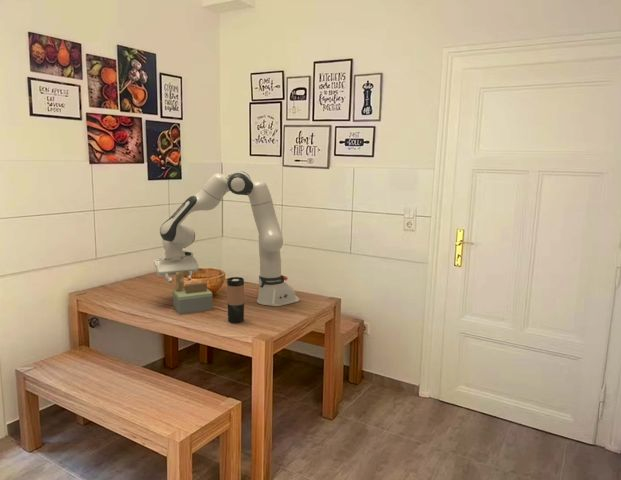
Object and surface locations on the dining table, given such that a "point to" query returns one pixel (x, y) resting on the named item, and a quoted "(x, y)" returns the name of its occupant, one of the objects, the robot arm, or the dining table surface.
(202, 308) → the grey open box
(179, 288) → the wooden key
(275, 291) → the robot arm
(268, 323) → the dining table surface
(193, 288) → the lid
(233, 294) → the travel mug
